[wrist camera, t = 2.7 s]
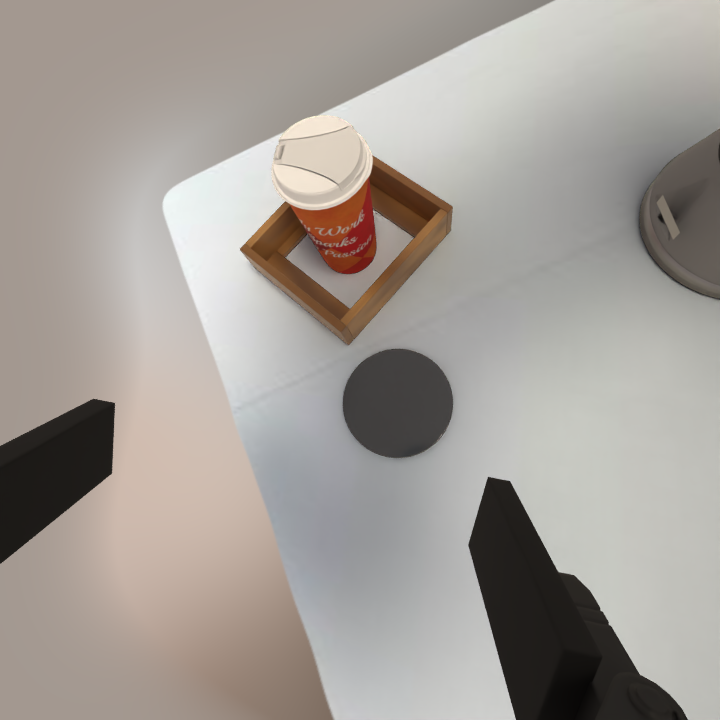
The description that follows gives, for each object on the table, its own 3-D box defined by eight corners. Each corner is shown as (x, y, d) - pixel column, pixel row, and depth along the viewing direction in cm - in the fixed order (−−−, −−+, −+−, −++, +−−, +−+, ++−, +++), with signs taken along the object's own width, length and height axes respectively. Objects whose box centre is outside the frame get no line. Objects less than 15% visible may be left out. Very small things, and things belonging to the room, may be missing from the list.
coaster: (391, 330, 42) (390, 328, 41) (475, 395, 39) (476, 394, 39) (322, 408, 41) (320, 407, 40) (403, 482, 38) (403, 482, 38)
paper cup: (306, 279, 45) (254, 195, 31) (321, 214, 47) (278, 108, 33) (381, 287, 43) (360, 202, 30) (393, 219, 45) (378, 110, 32)
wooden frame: (352, 164, 48) (345, 137, 44) (451, 230, 44) (453, 206, 40) (254, 268, 46) (239, 249, 42) (348, 345, 42) (340, 332, 38)
